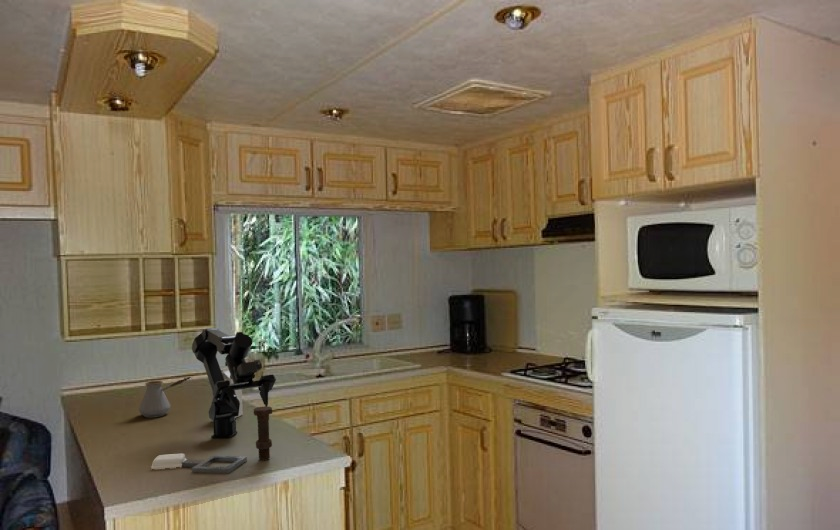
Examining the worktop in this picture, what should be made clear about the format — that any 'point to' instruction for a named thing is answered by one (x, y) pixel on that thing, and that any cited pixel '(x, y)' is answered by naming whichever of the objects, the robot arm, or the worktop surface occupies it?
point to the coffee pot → (156, 399)
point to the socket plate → (201, 467)
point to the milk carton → (238, 392)
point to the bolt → (263, 431)
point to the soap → (168, 461)
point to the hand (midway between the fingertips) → (252, 408)
